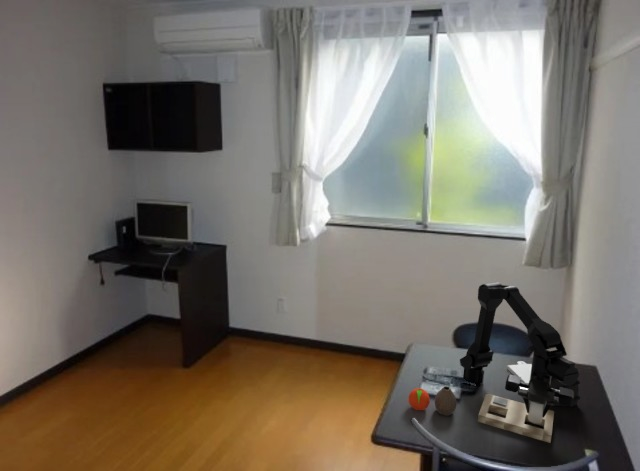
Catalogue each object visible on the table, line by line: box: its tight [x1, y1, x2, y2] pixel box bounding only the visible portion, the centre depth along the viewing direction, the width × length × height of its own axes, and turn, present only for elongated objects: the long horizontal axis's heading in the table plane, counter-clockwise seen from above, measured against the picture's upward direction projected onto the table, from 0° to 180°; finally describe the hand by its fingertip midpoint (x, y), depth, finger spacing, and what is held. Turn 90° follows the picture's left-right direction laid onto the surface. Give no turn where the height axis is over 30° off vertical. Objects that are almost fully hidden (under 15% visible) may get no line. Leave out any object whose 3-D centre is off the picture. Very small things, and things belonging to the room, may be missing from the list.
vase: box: [434, 385, 457, 416], centre depth 156 cm, size 7×7×9 cm
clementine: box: [408, 387, 431, 411], centre depth 157 cm, size 8×7×7 cm
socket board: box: [477, 393, 555, 444], centre depth 153 cm, size 21×14×3 cm, turn 62°
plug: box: [528, 401, 545, 425], centre depth 147 cm, size 5×5×8 cm
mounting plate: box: [506, 360, 532, 383], centre depth 179 cm, size 18×13×2 cm
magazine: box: [550, 377, 581, 407], centre depth 161 cm, size 4×13×15 cm, turn 92°
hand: (535, 414), depth 148 cm, fingers closed on plug, 4 cm apart
